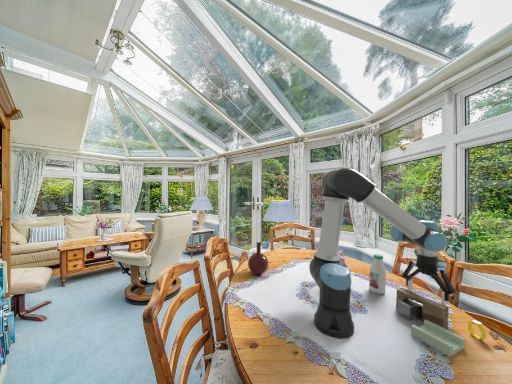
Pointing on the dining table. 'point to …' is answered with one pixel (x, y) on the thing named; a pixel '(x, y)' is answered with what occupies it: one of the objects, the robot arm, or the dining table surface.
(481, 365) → the dining table surface
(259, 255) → the round-bottom flask
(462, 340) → the cradle
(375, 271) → the milk bottle
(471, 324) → the yellow ring
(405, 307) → the grey rectangular bar
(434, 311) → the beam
